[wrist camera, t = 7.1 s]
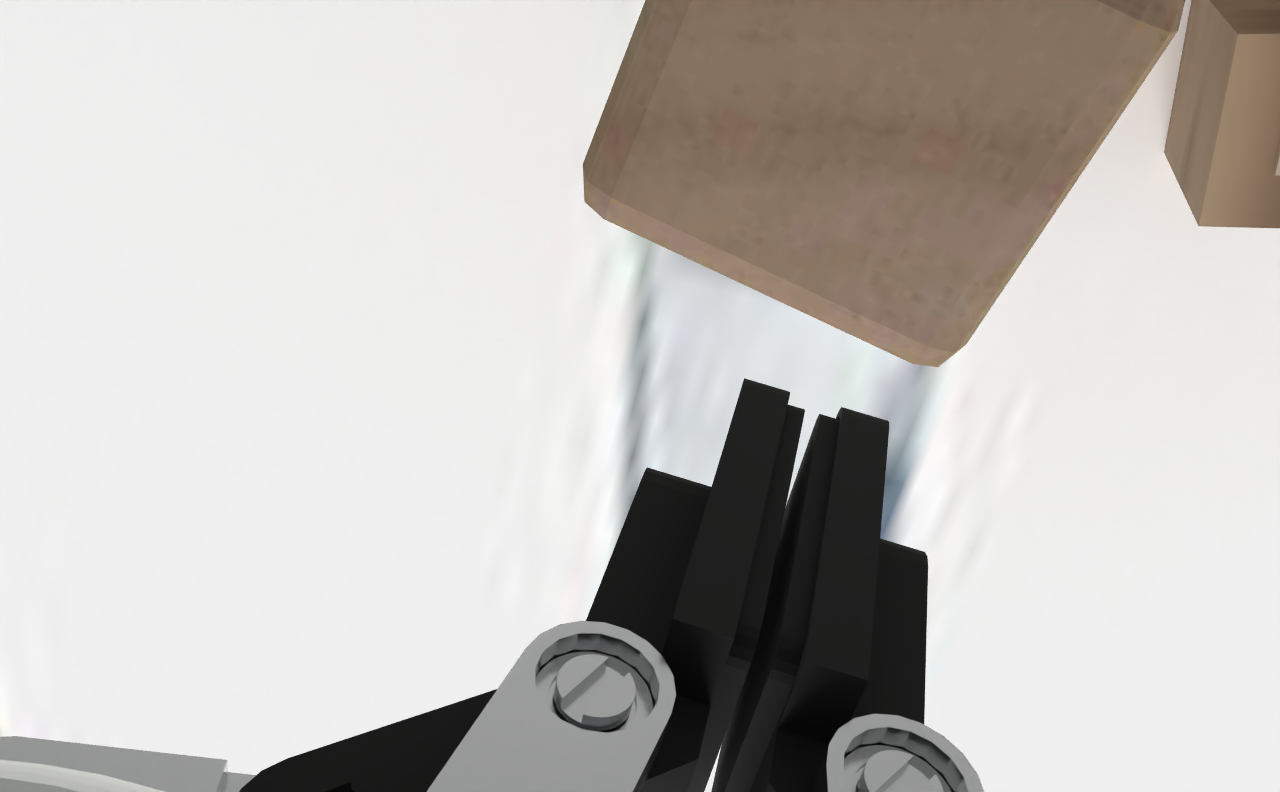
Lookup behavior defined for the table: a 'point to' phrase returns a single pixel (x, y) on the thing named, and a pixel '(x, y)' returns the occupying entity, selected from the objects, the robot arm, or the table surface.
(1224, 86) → the walnut block
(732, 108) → the block
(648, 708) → the robot arm
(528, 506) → the table surface
